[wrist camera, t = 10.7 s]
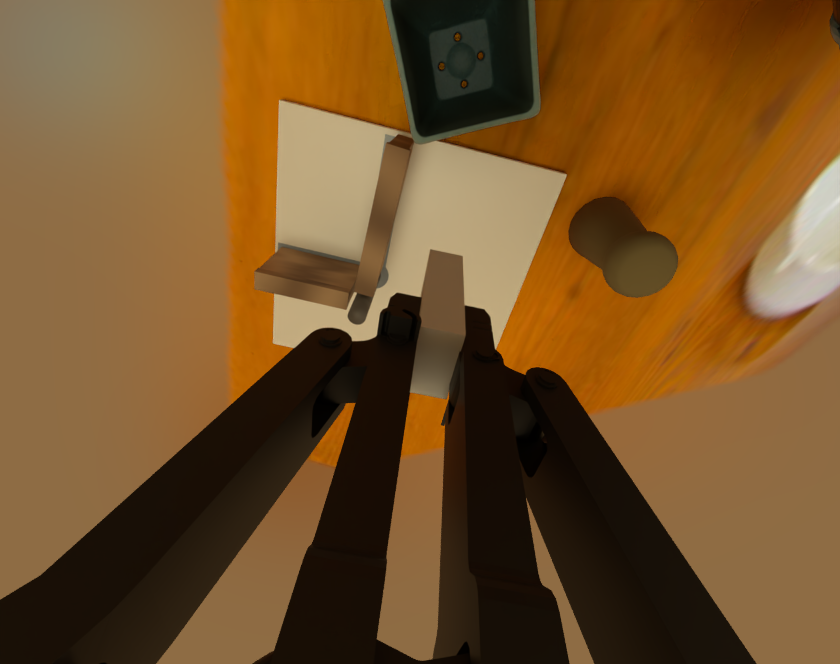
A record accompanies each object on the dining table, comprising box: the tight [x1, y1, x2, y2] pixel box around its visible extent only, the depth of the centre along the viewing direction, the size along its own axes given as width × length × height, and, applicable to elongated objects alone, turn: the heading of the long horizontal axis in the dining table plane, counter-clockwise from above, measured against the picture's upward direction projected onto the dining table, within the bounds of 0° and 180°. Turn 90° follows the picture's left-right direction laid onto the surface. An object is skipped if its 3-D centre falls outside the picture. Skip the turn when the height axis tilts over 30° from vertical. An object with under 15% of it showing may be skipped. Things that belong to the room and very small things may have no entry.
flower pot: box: [383, 0, 541, 145], centre depth 28 cm, size 9×9×9 cm
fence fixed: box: [255, 247, 381, 325], centre depth 37 cm, size 11×2×9 cm, turn 77°
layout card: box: [273, 100, 567, 350], centre depth 42 cm, size 26×26×1 cm
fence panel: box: [354, 134, 414, 297], centre depth 34 cm, size 12×2×7 cm, turn 164°
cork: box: [569, 197, 678, 298], centre depth 34 cm, size 6×6×11 cm
